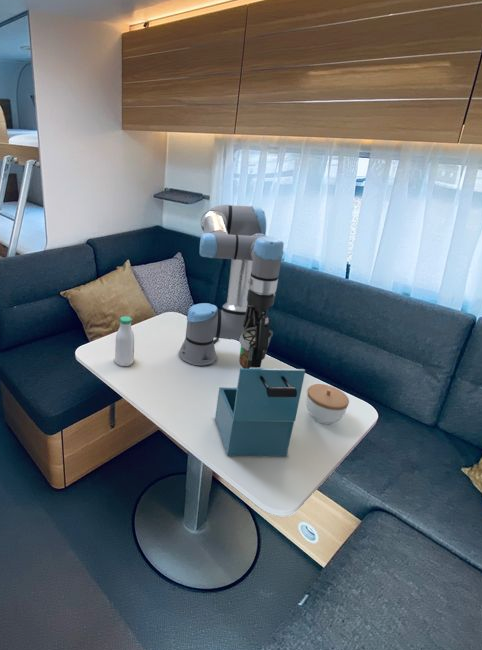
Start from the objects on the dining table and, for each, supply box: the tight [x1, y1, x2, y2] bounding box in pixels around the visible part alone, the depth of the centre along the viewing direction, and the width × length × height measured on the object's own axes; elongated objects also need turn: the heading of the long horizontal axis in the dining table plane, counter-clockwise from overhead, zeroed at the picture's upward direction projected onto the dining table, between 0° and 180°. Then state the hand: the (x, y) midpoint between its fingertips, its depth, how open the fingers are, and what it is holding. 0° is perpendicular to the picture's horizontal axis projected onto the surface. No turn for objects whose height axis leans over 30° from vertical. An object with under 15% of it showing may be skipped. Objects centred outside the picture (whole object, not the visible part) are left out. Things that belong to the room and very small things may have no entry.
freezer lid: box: [233, 367, 306, 422], centre depth 112 cm, size 17×18×9 cm
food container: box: [238, 327, 274, 369], centre depth 126 cm, size 12×6×10 cm, turn 128°
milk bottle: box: [114, 315, 135, 367], centre depth 166 cm, size 8×8×20 cm
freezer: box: [214, 387, 295, 457], centre depth 128 cm, size 16×18×13 cm
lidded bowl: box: [305, 383, 350, 425], centre depth 139 cm, size 13×13×11 cm
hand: (250, 358), depth 126 cm, fingers open, 8 cm apart
